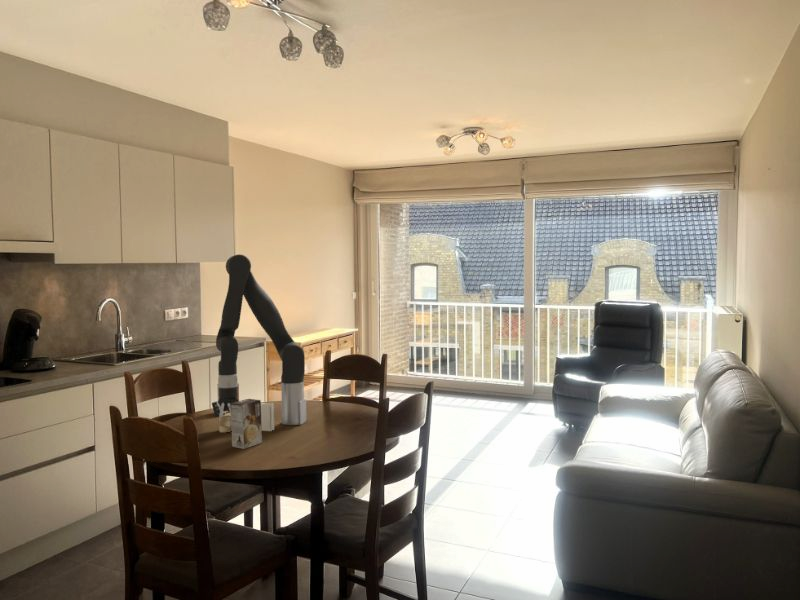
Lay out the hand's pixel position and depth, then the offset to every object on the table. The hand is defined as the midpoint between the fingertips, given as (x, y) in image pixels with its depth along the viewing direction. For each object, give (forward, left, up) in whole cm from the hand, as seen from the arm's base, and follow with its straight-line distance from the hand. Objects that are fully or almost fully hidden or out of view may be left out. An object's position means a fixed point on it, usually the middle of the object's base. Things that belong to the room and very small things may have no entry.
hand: (229, 427), depth 246 cm
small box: (+17, -30, -1) cm, 35 cm away
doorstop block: (0, 0, -1) cm, 1 cm away
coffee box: (-18, +18, -1) cm, 25 cm away
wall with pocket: (-13, -3, -1) cm, 13 cm away
